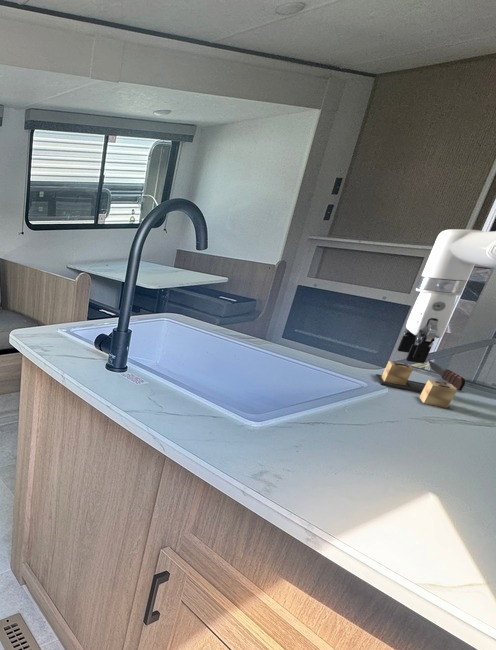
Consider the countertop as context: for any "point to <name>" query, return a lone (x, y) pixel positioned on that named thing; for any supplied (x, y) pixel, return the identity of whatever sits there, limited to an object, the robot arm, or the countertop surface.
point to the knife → (448, 376)
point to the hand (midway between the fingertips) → (409, 356)
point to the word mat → (409, 385)
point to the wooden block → (397, 372)
